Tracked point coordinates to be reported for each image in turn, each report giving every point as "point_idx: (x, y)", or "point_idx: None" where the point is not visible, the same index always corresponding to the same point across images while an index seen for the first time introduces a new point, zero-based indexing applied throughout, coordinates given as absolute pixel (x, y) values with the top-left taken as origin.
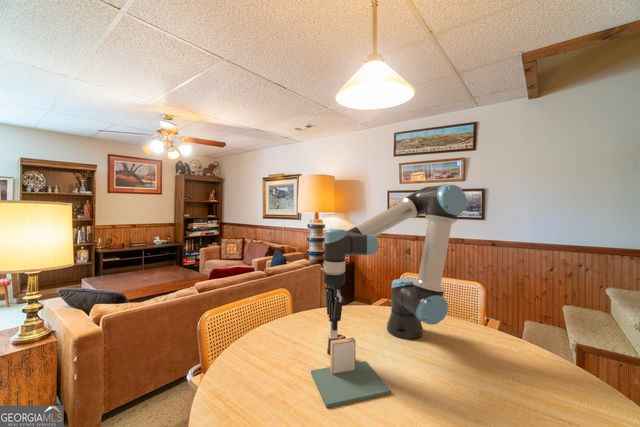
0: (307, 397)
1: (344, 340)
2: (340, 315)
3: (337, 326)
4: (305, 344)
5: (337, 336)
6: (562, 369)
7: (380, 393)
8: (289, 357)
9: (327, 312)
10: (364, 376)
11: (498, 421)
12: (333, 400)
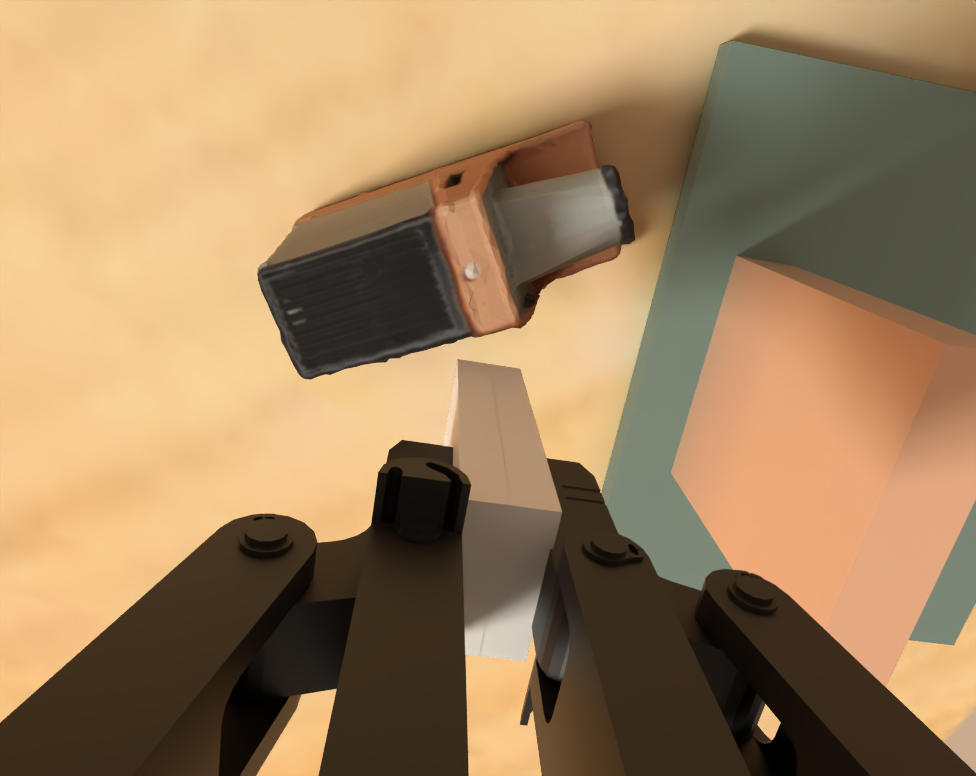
0: None
1: (926, 516)
2: (899, 724)
3: (542, 449)
4: (91, 456)
5: (425, 307)
6: None
7: None
8: None
9: (250, 715)
10: (919, 240)
11: None
12: (959, 597)
